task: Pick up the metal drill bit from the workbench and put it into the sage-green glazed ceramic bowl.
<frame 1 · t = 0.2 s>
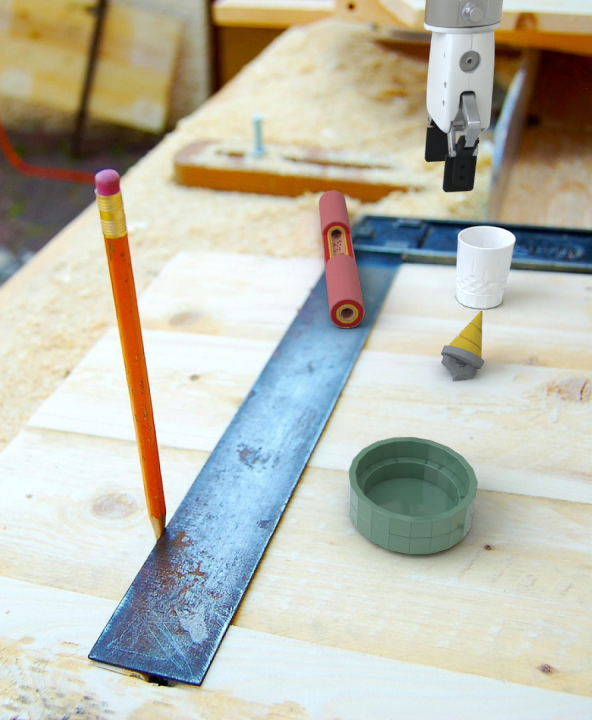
hand: (447, 175, 86), 26 cm above the workbench, tool pointing down, fingers open, 9 cm apart
white cup: (478, 299, 115), on the workbench
bowl: (408, 512, 79), on the workbench
blood vessel: (338, 265, 128), on the workbench
drill bit: (460, 368, 100), on the workbench
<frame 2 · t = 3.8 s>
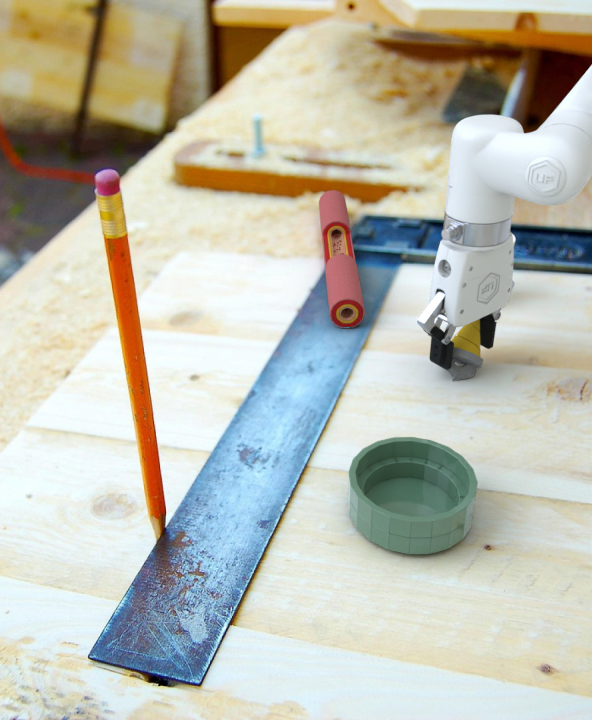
hand: (461, 353, 99), 2 cm above the workbench, tool pointing down, fingers closed on drill bit, 7 cm apart
drill bit: (460, 368, 100), on the workbench, touching gripper
everything else where it was.
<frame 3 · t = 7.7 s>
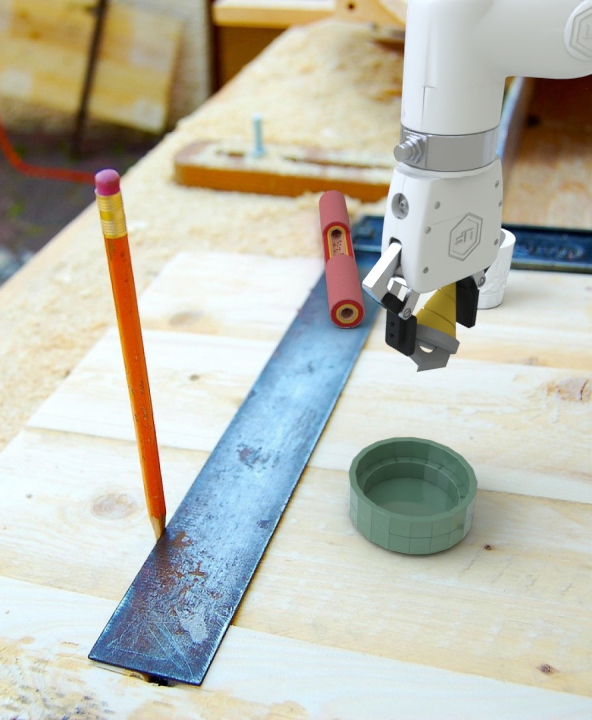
hand: (430, 334, 71), 20 cm above the workbench, tool pointing down, fingers closed on drill bit, 7 cm apart
drill bit: (429, 354, 72), point 17 cm above the workbench, touching gripper
everything else where it was.
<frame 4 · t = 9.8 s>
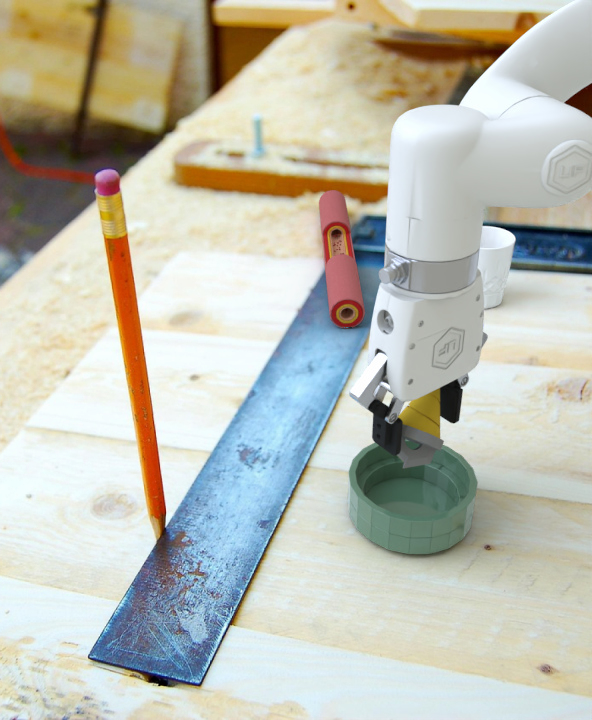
hand: (415, 430, 73), 11 cm above the workbench, tool pointing down, fingers closed on drill bit, 7 cm apart
drill bit: (414, 448, 74), point 9 cm above the workbench, touching gripper
everything else where it was.
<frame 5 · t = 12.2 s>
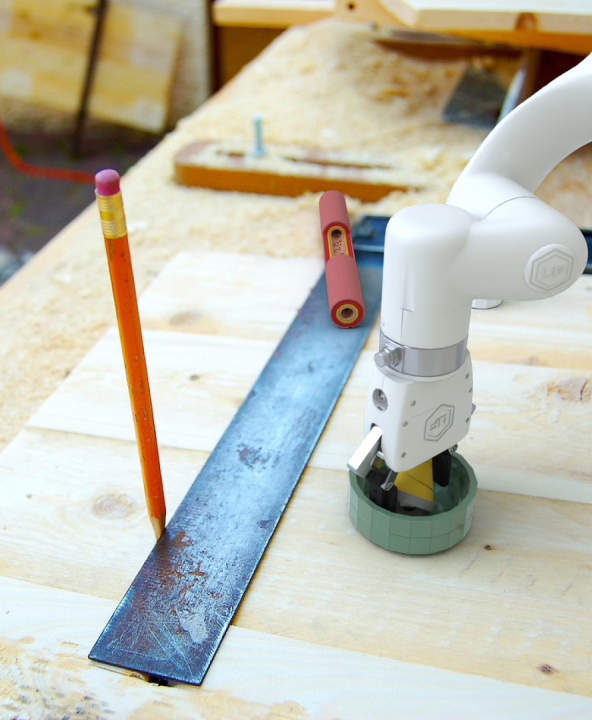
hand: (409, 493, 77), 3 cm above the workbench, tool pointing down, fingers closed on drill bit, 6 cm apart
drill bit: (410, 507, 79), point 1 cm above the workbench, touching bowl, gripper
everything else where it was.
when the fingers open (4 cm above the workbench, at t = 13.0 s): drill bit stays where it is, resting on bowl.
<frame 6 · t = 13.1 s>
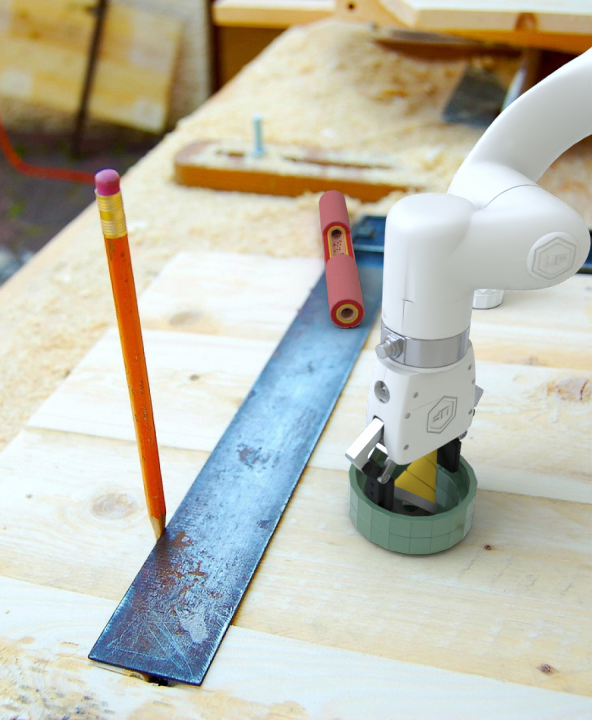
hand: (412, 483, 77), 4 cm above the workbench, tool pointing down, fingers open, 8 cm apart
drill bit: (410, 509, 79), resting on bowl, touching gripper
everything else where it was.
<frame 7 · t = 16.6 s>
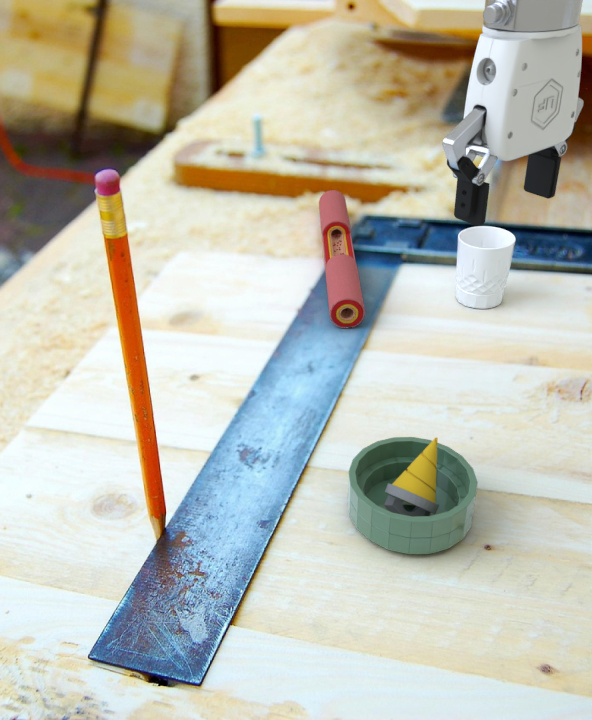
hand: (504, 207, 72), 28 cm above the workbench, tool pointing down, fingers open, 9 cm apart
drill bit: (410, 509, 79), resting on bowl
everything else where it was.
at the end: drill bit inside the target area in the bowl (0.1 cm from its centre), point 0.4 cm above the bowl's base; the gripper is holding nothing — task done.
